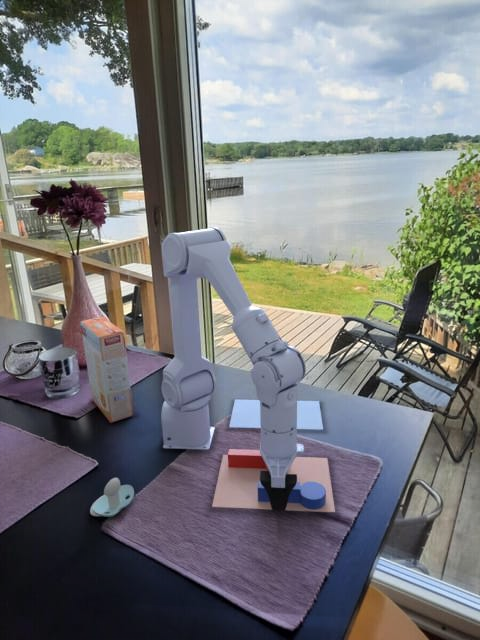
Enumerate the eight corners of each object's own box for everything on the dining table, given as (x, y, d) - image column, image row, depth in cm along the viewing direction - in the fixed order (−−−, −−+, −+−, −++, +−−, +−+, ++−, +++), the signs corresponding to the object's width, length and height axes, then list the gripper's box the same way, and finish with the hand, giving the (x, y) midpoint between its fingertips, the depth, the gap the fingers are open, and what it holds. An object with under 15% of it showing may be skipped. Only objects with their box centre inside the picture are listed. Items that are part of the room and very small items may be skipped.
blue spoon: (257, 507, 72) (257, 493, 71) (258, 488, 76) (258, 475, 75) (326, 510, 71) (327, 496, 70) (324, 491, 75) (325, 477, 74)
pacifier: (82, 514, 73) (105, 528, 69) (75, 483, 71) (99, 496, 68) (116, 488, 78) (140, 500, 75) (111, 458, 77) (135, 469, 73)
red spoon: (227, 472, 81) (226, 459, 80) (230, 457, 85) (229, 444, 84) (288, 474, 79) (289, 461, 79) (288, 459, 84) (288, 446, 83)
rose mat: (212, 509, 73) (211, 506, 73) (223, 456, 86) (223, 454, 86) (335, 515, 71) (335, 512, 70) (327, 460, 84) (327, 457, 84)
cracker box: (135, 416, 101) (125, 330, 94) (110, 424, 98) (97, 337, 91) (115, 392, 112) (104, 314, 106) (91, 399, 109) (78, 320, 102)
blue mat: (229, 429, 95) (228, 427, 95) (235, 401, 106) (234, 399, 106) (323, 432, 93) (323, 429, 93) (319, 403, 104) (319, 400, 104)
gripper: (306, 452, 62) (305, 528, 66) (302, 400, 75) (301, 466, 80) (256, 450, 62) (258, 526, 67) (261, 399, 76) (262, 465, 81)
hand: (279, 493), depth 73 cm, fingers open, 6 cm apart
